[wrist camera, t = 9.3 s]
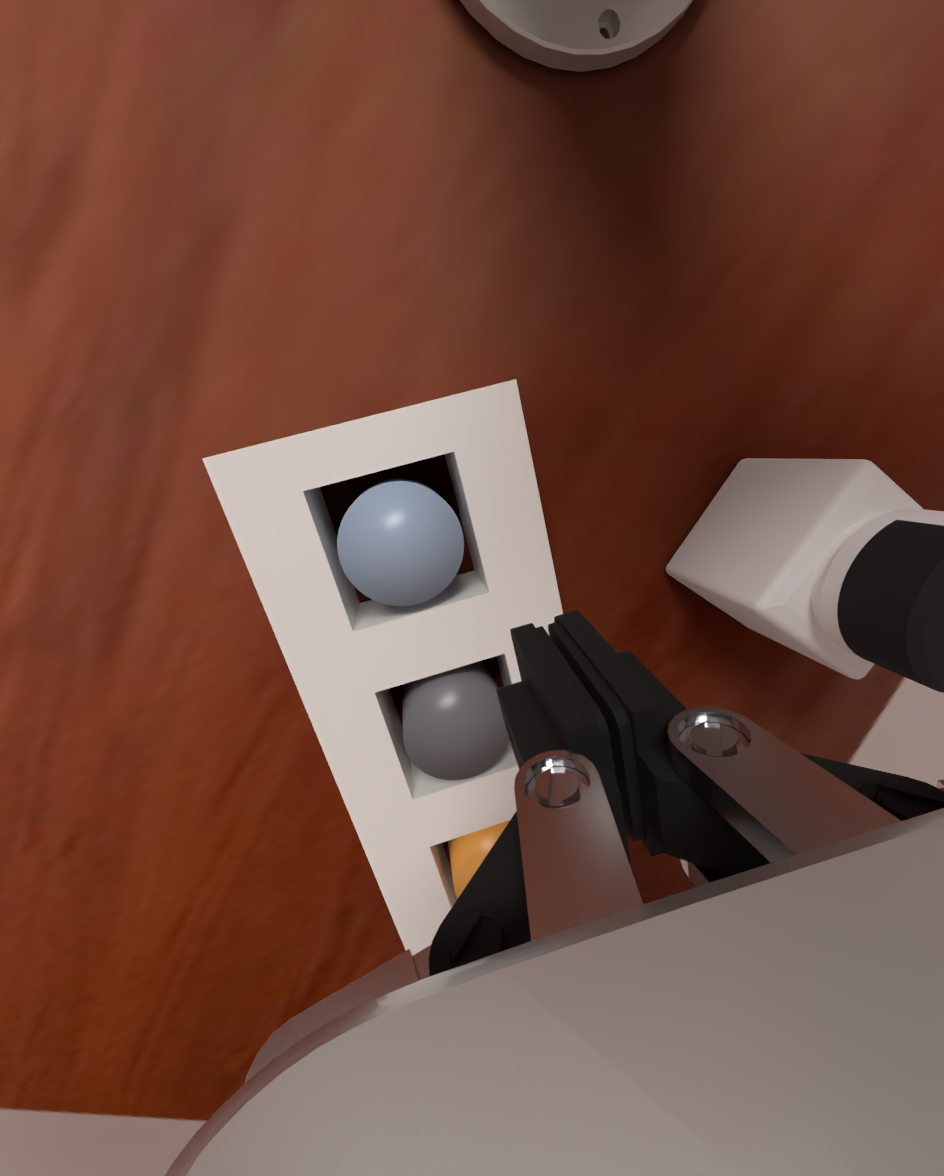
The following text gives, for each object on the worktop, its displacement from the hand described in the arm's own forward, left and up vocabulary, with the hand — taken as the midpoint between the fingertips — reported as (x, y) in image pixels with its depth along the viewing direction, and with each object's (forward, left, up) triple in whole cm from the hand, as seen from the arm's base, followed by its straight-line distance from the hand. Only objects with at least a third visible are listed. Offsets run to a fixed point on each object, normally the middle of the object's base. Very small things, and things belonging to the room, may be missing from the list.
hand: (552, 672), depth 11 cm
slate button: (-2, -3, -12) cm, 13 cm away
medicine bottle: (+4, +15, -13) cm, 20 cm away
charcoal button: (+7, -3, -12) cm, 14 cm away
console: (+7, -3, -13) cm, 15 cm away
